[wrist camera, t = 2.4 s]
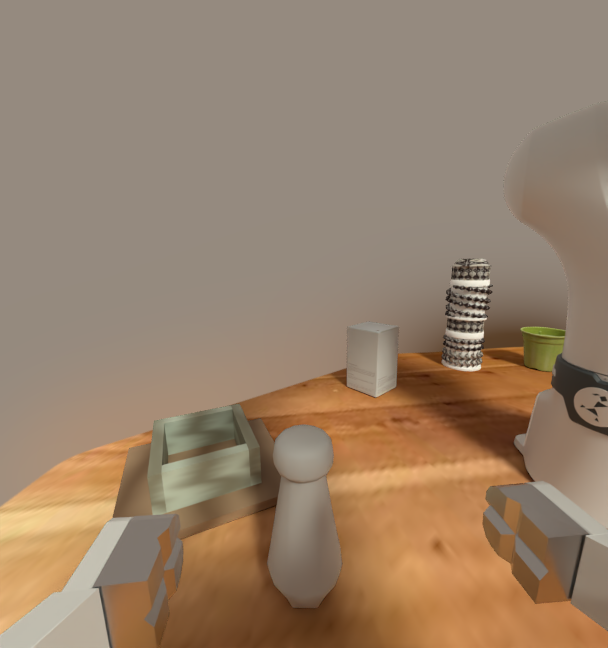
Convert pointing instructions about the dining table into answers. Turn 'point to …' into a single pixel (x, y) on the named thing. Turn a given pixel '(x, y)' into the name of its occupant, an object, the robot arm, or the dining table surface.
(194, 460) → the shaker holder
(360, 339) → the supplement box
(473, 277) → the decorative candle
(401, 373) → the dining table surface
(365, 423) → the dining table surface
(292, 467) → the salt shaker
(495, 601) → the dining table surface
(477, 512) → the dining table surface
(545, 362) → the plant pot
